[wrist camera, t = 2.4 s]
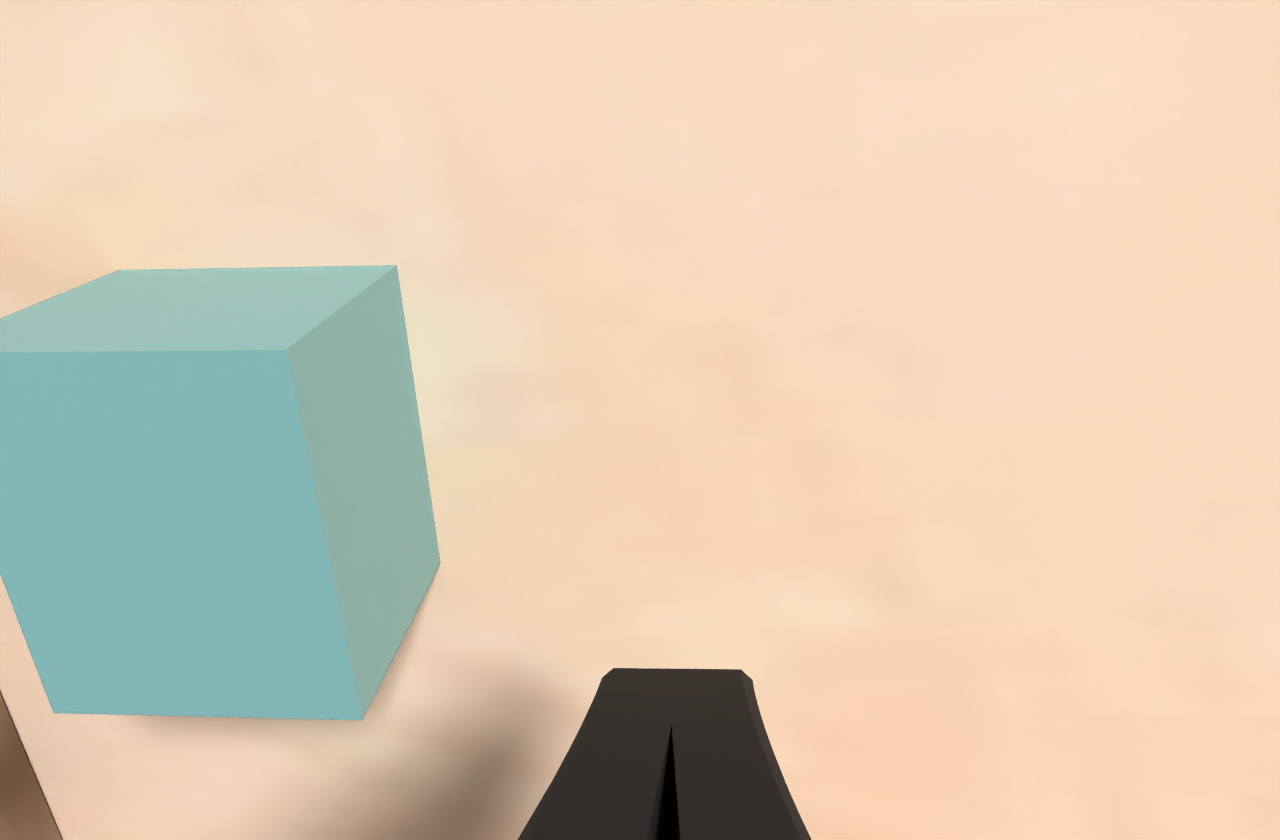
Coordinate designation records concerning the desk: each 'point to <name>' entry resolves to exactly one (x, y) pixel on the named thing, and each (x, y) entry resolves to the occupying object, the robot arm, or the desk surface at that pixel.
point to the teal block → (214, 490)
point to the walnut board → (20, 790)
